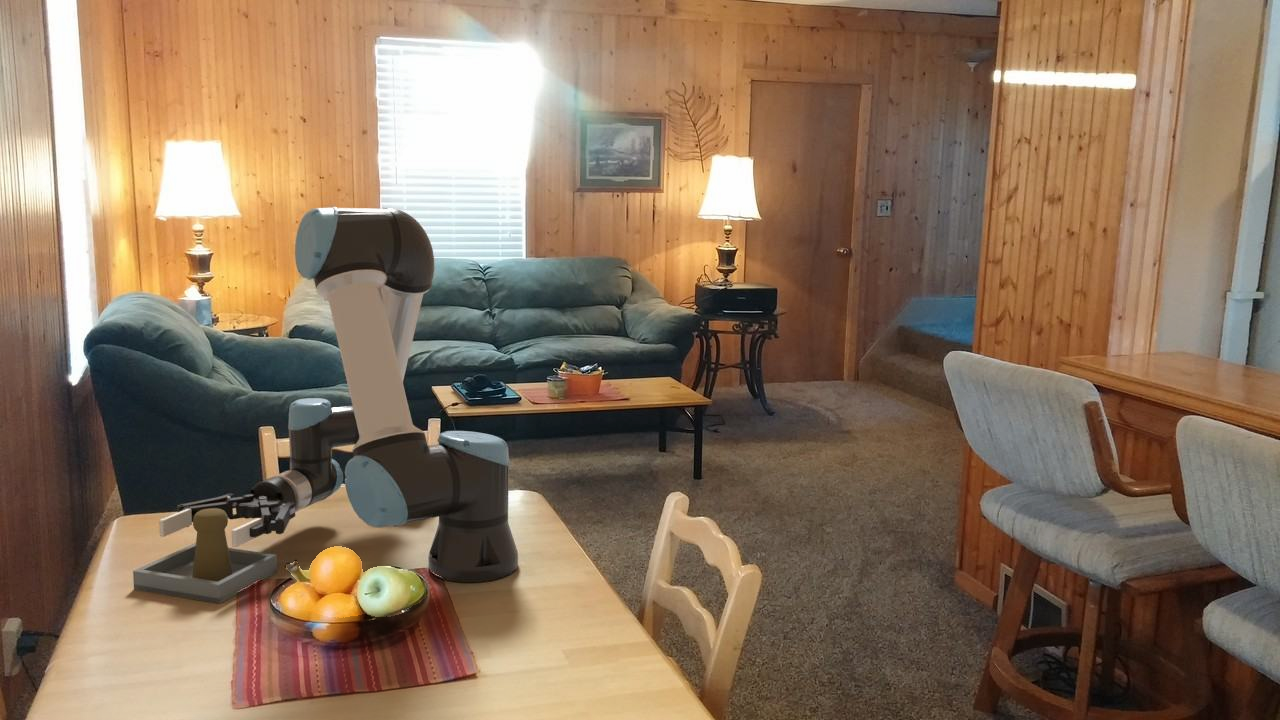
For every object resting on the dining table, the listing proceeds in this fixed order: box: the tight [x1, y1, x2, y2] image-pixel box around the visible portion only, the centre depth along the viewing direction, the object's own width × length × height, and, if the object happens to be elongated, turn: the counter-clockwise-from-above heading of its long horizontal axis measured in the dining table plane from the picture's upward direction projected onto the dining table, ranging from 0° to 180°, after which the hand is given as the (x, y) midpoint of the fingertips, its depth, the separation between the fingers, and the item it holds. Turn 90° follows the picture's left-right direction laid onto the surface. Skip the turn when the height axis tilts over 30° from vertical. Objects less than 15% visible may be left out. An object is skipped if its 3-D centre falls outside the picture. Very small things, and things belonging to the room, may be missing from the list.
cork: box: [192, 508, 232, 582], centre depth 163 cm, size 6×6×11 cm
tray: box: [132, 542, 278, 604], centre depth 163 cm, size 16×14×3 cm
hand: (196, 533), depth 160 cm, fingers open, 13 cm apart
